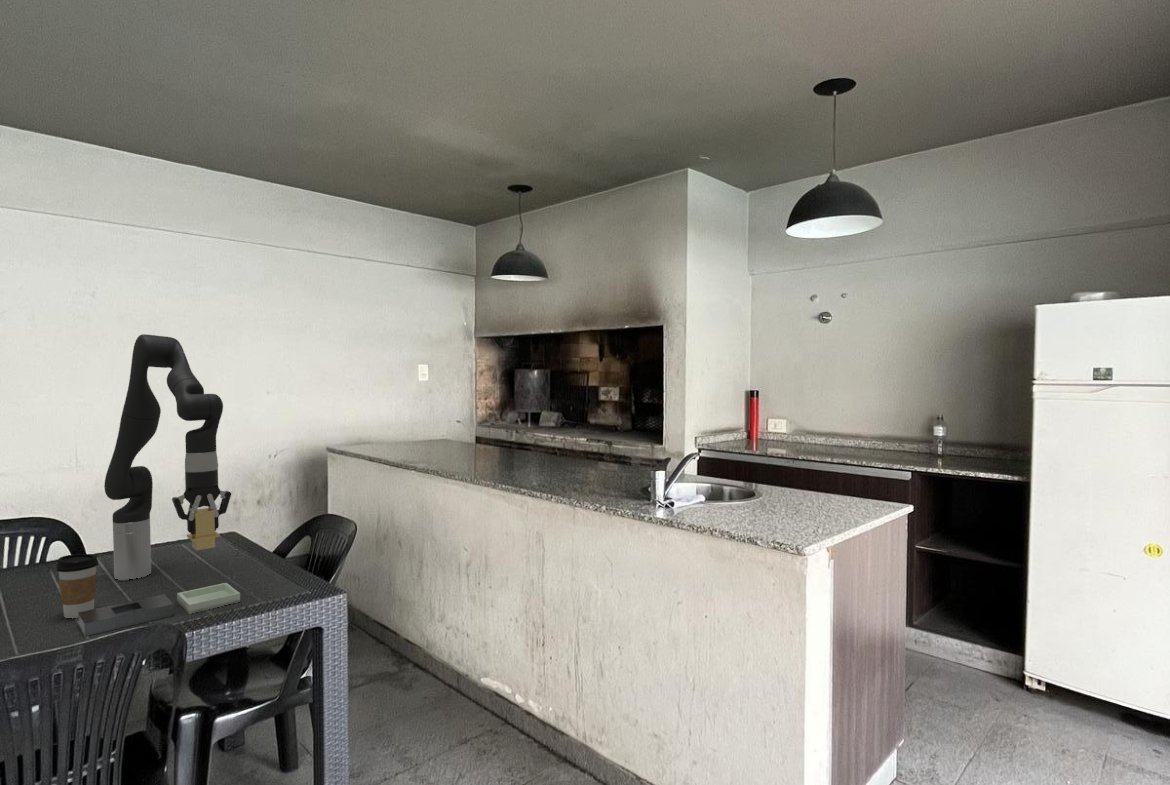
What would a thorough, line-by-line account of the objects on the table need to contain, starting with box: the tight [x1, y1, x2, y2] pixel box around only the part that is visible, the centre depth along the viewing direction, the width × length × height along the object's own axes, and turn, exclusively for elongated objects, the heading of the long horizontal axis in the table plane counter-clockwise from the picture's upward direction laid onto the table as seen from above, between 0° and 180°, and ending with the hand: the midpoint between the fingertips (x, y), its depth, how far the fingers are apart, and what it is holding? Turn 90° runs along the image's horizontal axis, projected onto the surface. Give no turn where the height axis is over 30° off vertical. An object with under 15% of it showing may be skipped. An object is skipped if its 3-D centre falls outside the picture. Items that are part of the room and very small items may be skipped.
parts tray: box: [176, 582, 241, 615], centre depth 171 cm, size 12×12×2 cm
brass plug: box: [186, 507, 221, 551], centre depth 170 cm, size 6×6×10 cm
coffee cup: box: [56, 553, 99, 620], centre depth 163 cm, size 8×8×15 cm
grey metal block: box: [77, 593, 175, 637], centre depth 159 cm, size 10×18×3 cm, turn 135°
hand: (203, 531), depth 170 cm, fingers closed on brass plug, 4 cm apart
